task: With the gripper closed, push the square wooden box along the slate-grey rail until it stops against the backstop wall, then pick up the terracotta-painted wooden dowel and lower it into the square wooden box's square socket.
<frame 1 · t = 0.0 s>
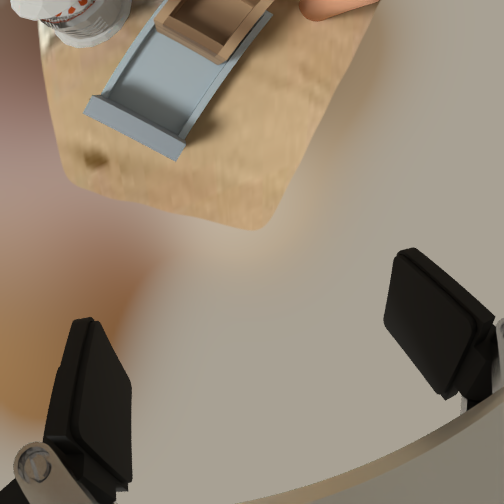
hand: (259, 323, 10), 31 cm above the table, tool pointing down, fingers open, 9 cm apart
dowel: (314, 7, 31), on the table
rail: (181, 56, 31), on the table
french press: (84, 10, 25), on the table
square wooden box: (211, 13, 25), point 5 cm above the table, slide at 0.0 cm
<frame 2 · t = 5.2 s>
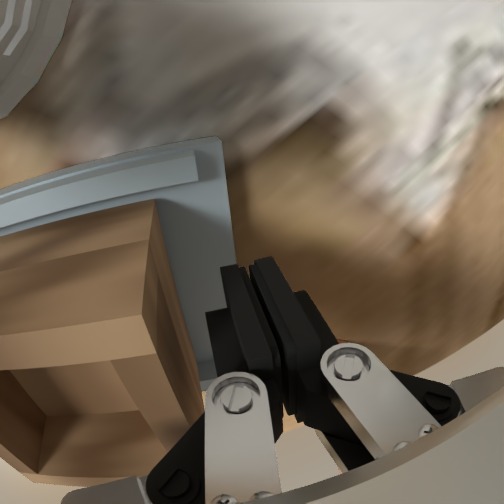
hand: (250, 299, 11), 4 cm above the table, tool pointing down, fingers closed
rail: (34, 296, 13), on the table
square wooden box: (72, 363, 9), point 5 cm above the table, slide at 1.6 cm, touching gripper
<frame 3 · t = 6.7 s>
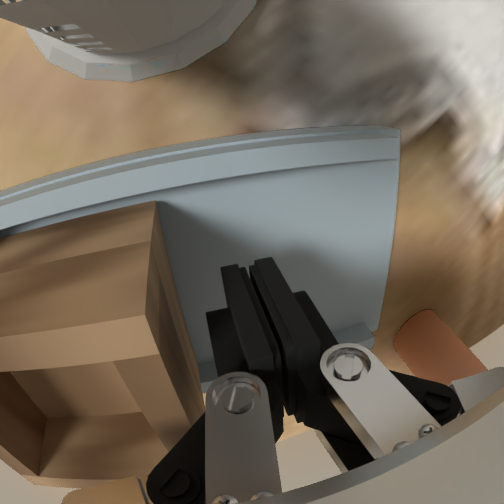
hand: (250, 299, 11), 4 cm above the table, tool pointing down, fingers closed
dowel: (415, 331, 21), on the table
rail: (176, 271, 14), on the table
square wooden box: (73, 365, 9), point 5 cm above the table, slide at 9.0 cm, touching gripper, rail
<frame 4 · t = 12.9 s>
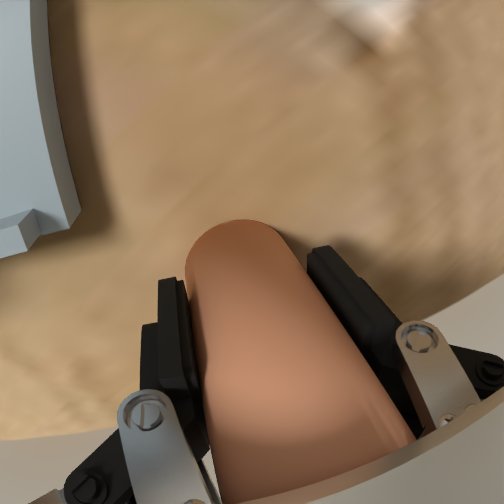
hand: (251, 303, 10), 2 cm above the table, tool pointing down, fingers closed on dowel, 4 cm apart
dowel: (238, 269, 12), on the table, touching gripper
when the fingers open (9 cm above the table, at t = 19.9 s): dowel drops 1 cm, resting on square wooden box.
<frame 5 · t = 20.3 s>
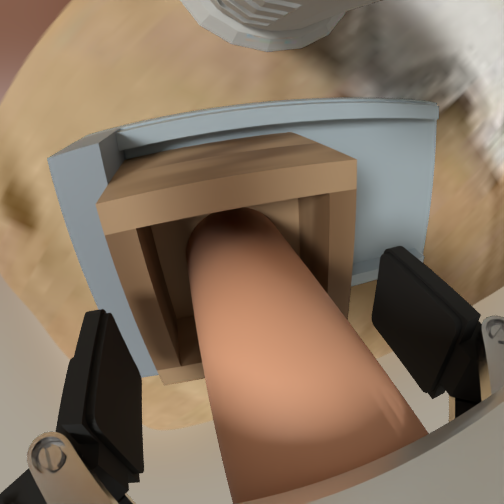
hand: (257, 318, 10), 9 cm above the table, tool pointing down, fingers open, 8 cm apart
dowel: (233, 252, 14), point 5 cm above the table, touching square wooden box
rail: (284, 196, 18), on the table
square wooden box: (230, 249, 14), point 5 cm above the table, slide at 9.0 cm, touching dowel
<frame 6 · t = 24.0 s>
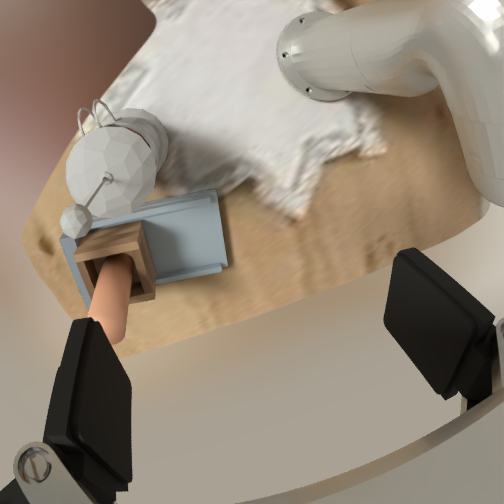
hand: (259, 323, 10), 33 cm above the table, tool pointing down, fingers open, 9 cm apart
dowel: (118, 265, 38), point 5 cm above the table, touching square wooden box
rail: (149, 241, 43), on the table
french press: (126, 140, 36), on the table
square wooden box: (117, 264, 38), point 5 cm above the table, slide at 9.0 cm, touching dowel
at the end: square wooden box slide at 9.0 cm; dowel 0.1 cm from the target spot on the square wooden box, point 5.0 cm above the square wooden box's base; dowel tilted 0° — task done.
